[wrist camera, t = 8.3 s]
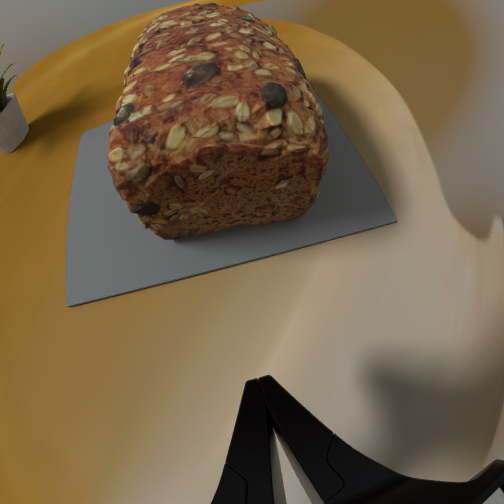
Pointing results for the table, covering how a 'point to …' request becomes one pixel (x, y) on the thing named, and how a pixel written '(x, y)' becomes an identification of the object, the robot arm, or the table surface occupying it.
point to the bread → (215, 126)
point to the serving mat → (208, 246)
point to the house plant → (10, 120)
